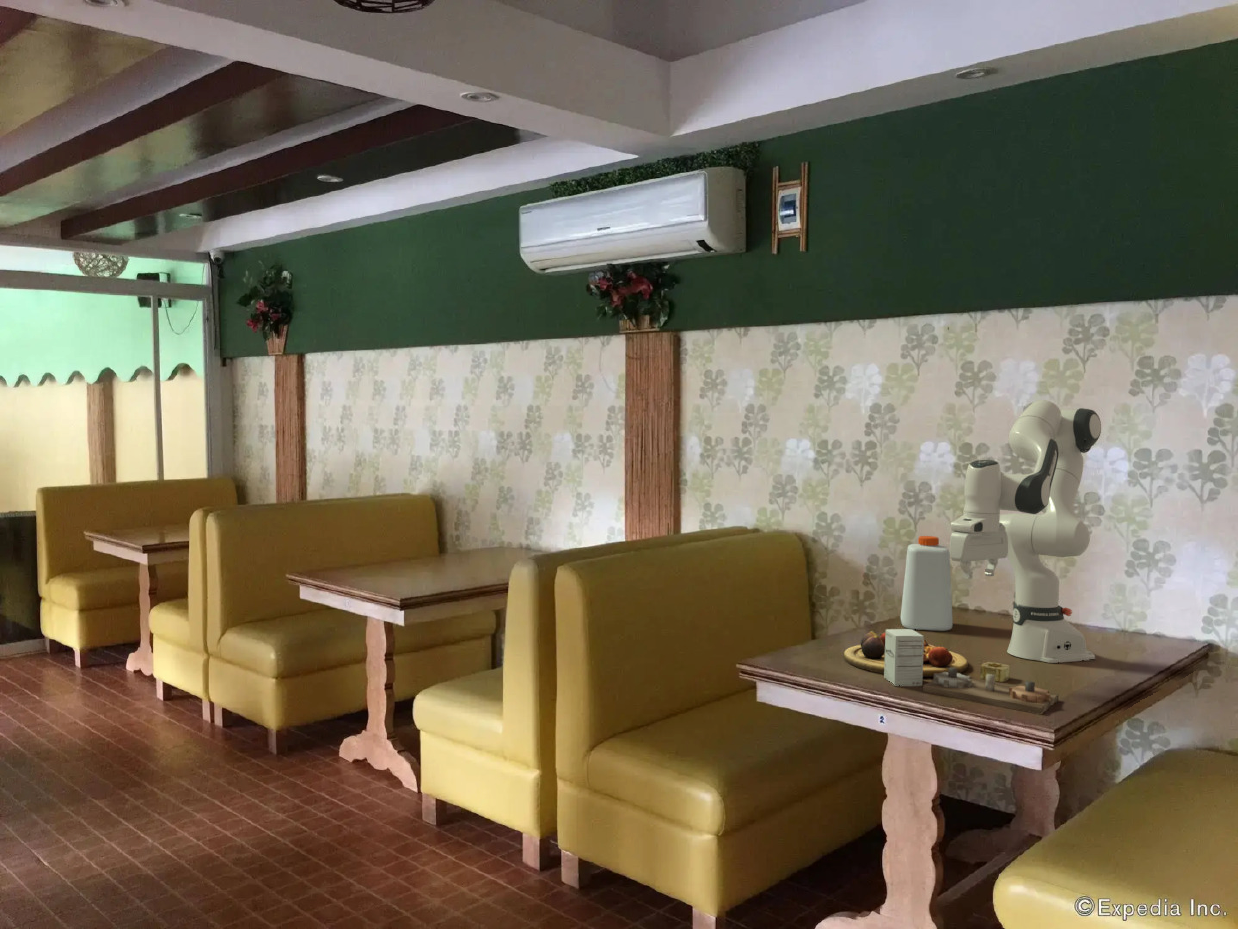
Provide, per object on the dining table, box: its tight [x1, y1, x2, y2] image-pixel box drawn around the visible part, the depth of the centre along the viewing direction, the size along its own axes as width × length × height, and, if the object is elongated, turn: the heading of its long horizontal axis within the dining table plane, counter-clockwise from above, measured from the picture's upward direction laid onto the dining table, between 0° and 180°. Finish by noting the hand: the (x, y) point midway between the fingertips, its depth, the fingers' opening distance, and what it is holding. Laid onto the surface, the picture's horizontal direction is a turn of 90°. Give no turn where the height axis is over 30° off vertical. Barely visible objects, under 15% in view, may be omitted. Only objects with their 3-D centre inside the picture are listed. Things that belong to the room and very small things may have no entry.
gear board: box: [922, 668, 1059, 715], centre depth 235 cm, size 14×27×5 cm, turn 52°
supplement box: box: [883, 628, 925, 687], centre depth 246 cm, size 7×7×13 cm
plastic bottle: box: [900, 535, 953, 632], centre depth 310 cm, size 15×15×28 cm
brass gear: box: [980, 661, 1011, 683], centre depth 251 cm, size 6×6×3 cm
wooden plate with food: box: [843, 630, 969, 678], centre depth 265 cm, size 32×32×8 cm
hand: (978, 577), depth 254 cm, fingers open, 8 cm apart
